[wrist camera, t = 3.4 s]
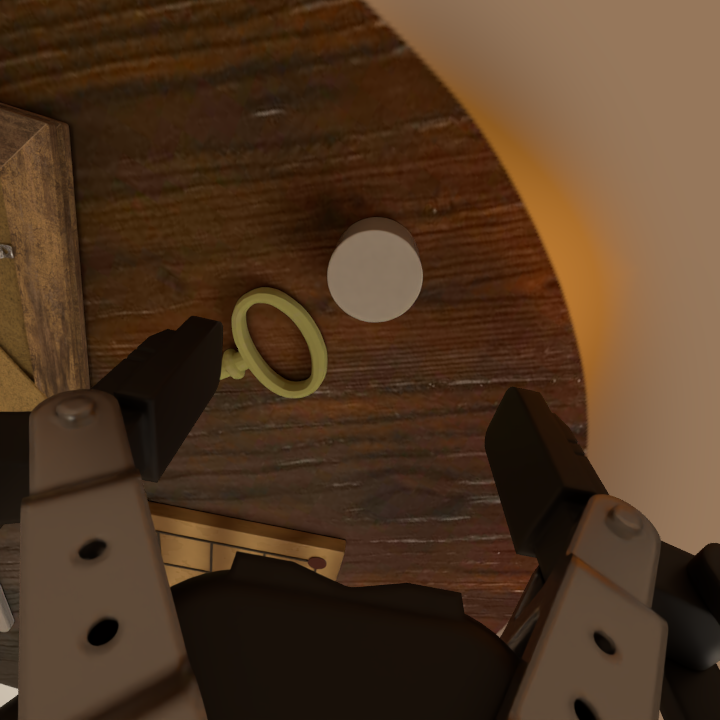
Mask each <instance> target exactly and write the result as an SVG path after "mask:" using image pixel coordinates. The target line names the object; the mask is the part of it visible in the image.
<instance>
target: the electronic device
mask: <svg viewBox="0 0 720 720" xmlns="http://www.w3.org/2000/svg"><path fill="white" fill-rule="evenodd" d="M13 624H14V619H13V616H12V614H11V611H10V608H9V606H8V603H7V600H6V598H5V595H4V593H3V590H2V587H1V585H0V632H7V631H9V629H10V628H11V626H12V625H13Z"/></svg>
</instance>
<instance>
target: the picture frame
mask: <svg viewBox="0 0 720 720" xmlns="http://www.w3.org/2000/svg"><path fill="white" fill-rule="evenodd" d="M77 389H90V382H89V369H88V357H87V345H86V332H85V320H84V307H83V295H82V283H81V270H80V258H79V246H78V233H77V221H76V209H75V196H74V184H73V171H72V159H71V147H70V134H69V126H68V124H67V123H64V122H61V121H58V120H54V119H51V118H48V117H45V116H42V115H39V114H35V113H32V112H29V111H26V110H23V109H20V108H17V107H13V106H10V105H7V104H4V103H1V102H0V412H20V411H32V410H33V409H34V408H35V407H36V406H37V405H38V404H39V403H40V402H42V401H43V400H45V399H47V398H49V397H51V396H53V395H56V394H59V393H62V392H65V391H70V390H77Z"/></svg>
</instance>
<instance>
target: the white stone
mask: <svg viewBox="0 0 720 720" xmlns="http://www.w3.org/2000/svg"><path fill="white" fill-rule="evenodd" d="M422 281H423V271H422V265H421V260H420V256H419V251H418V247H417V244H416V242H415V240H414V238H413V236H412V235H411V233H410V232H409V231H408V230H407V229H406V228H405V227H404V226H402V225H401V224H399V223H398V222H396V221H393V220H391V219H388V218H382V217H372V218H366V219H363V220H360V221H358V222H356V223H354V224H353V225H352V226H350V227H349V228H348V229H347V230H346V231H345V232H344V233H343V235H342V236H341V238H340V239H339V241H338V243H337V245H336V247H335V250H334V252H333V254H332V256H331V258H330V261H329V264H328V269H327V282H328V287H329V290H330V293H331V295H332V297H333V299H334V300H335V302H336V303H337V305H338V306H339V307H340V308H341V309H342V310H343V311H345V312H346V313H347V314H349V315H350V316H352V317H354V318H356V319H359V320H362V321H367V322H383V321H388V320H391V319H394V318H396V317H398V316H400V315H401V314H403V313H404V312H406V311H407V310H408V309H409V308H410V307H411V306H412V305H413V303H414V302H415V301H416V299H417V297H418V295H419V293H420V290H421V286H422Z"/></svg>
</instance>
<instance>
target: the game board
mask: <svg viewBox="0 0 720 720" xmlns="http://www.w3.org/2000/svg"><path fill="white" fill-rule="evenodd" d="M148 504H149V508H150V512H151V516H152V520H153V524H154V528H155V531H156V535H157V539H158V543H159V547H160V551H161V555H162V558H163V562H164V566H165V570H166V574H167V578H168V582H169V586H170V587H171V586H173V585H175V584H178V583H180V582H182V581H184V580H187V579H189V578H192V577H195V576H198V575H201V574H204V573H209V572H214V571H219V570H229V569H231V566H232V563H233V560H234V557H235V555H236V552H237V551H239V552H245V553H250V554H255V555H261V556H266V557H271V558H277V559H282V560H287V561H293V562H295V563H297V564H299V565H302V566H304V567H306V568H308V569H310V570H312V571H314V572H317V573H319V574H321V575H323V576H325V577H327V578H329V579H331V580H334V581H336V578H337V575H338V572H339V569H340V566H341V563H342V559H343V556H344V553H345V545H346V540H341V539H336V538H331V537H326V536H321V535H316V534H311V533H306V532H301V531H296V530H291V529H286V528H281V527H276V526H271V525H266V524H261V523H256V522H251V521H246V520H241V519H236V518H231V517H225V516H220V515H215V514H210V513H205V512H200V511H195V510H190V509H185V508H180V507H175V506H170V505H165V504H160V503H155V502H150V501H148Z"/></svg>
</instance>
